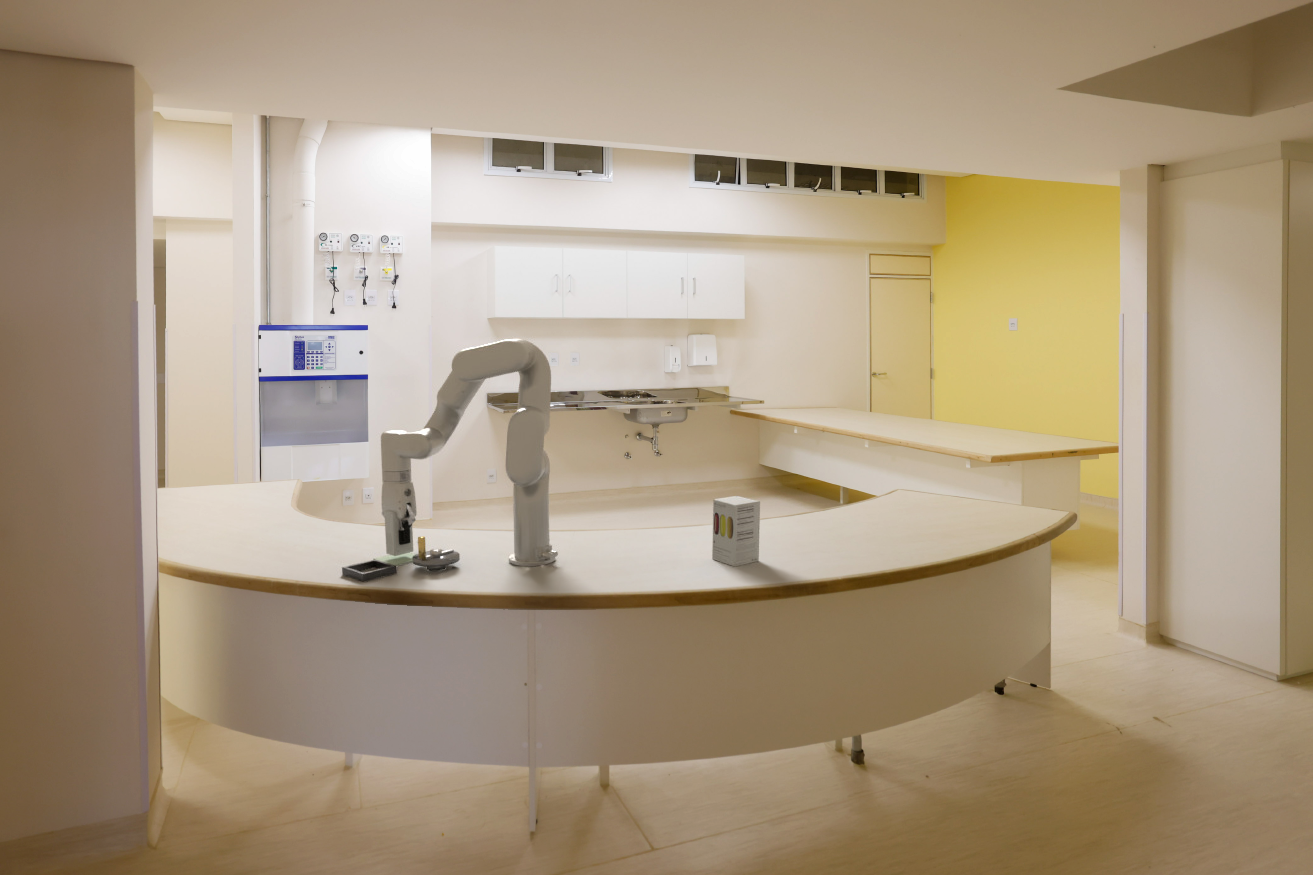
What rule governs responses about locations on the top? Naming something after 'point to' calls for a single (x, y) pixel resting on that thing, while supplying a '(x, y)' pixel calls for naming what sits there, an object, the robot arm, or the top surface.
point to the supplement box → (736, 530)
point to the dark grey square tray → (381, 571)
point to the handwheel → (434, 556)
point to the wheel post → (436, 568)
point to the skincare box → (395, 535)
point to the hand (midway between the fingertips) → (399, 541)
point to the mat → (397, 559)
